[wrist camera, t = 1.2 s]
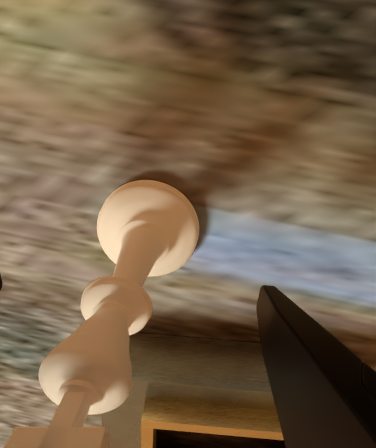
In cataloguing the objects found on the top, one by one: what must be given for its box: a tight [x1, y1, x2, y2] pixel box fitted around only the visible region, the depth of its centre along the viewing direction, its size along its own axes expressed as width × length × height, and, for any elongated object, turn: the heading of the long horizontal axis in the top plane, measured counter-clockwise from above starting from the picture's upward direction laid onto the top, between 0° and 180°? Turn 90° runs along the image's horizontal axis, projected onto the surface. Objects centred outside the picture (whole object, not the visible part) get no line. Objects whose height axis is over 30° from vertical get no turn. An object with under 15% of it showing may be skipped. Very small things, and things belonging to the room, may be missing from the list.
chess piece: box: [4, 180, 199, 448], centre depth 8 cm, size 5×5×10 cm
